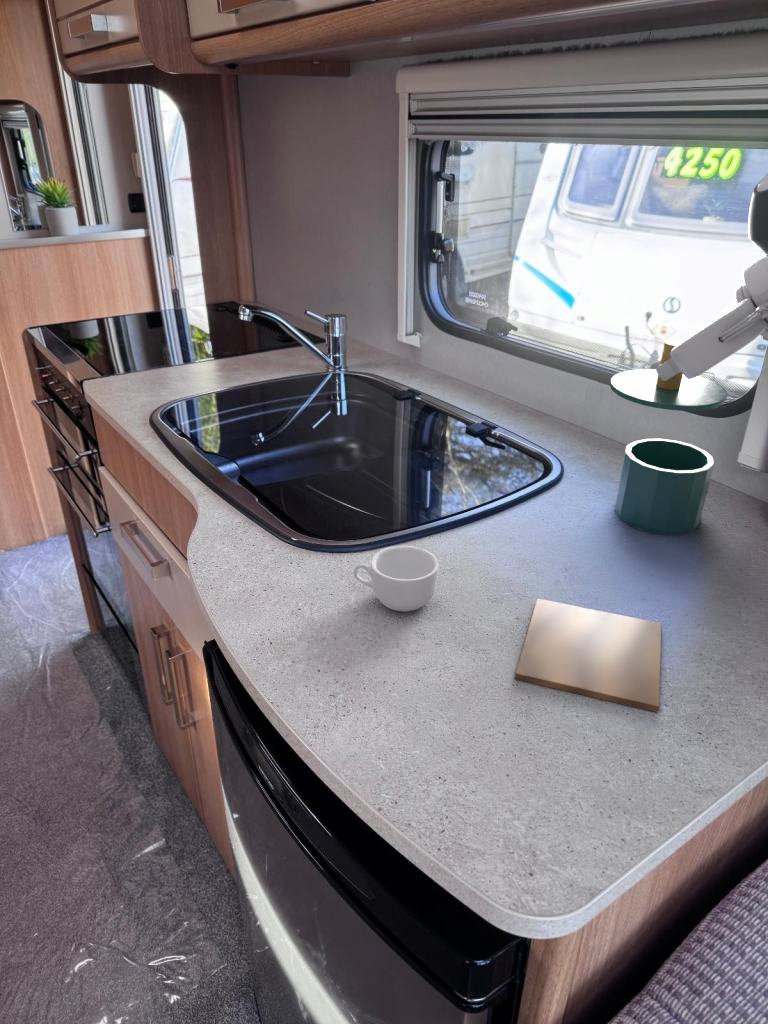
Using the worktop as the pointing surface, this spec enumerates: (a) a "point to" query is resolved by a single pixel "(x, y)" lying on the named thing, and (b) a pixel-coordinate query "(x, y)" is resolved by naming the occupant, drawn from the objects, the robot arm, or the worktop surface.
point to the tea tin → (663, 486)
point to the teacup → (401, 577)
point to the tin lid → (668, 388)
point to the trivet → (593, 654)
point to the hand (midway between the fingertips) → (666, 370)
